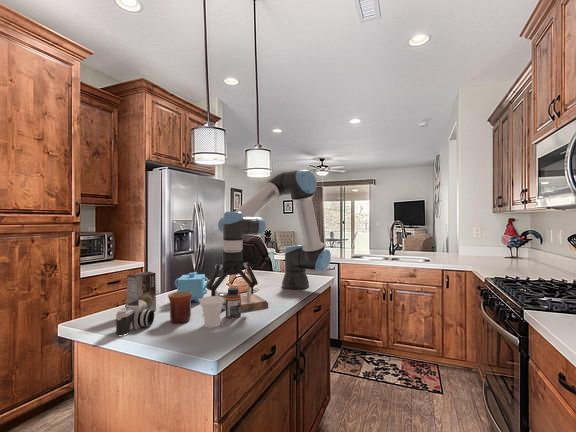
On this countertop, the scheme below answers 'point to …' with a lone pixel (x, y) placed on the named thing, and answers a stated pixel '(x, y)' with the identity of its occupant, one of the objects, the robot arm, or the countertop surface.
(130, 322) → the camera
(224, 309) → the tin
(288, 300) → the countertop surface
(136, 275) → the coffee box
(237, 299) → the supplement bottle
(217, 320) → the cup
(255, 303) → the stand
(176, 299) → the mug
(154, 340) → the countertop surface
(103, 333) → the countertop surface
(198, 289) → the teapot
